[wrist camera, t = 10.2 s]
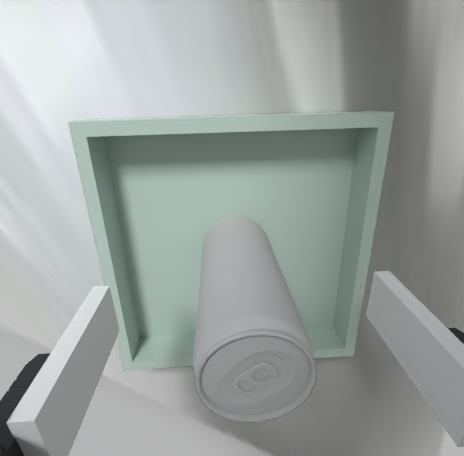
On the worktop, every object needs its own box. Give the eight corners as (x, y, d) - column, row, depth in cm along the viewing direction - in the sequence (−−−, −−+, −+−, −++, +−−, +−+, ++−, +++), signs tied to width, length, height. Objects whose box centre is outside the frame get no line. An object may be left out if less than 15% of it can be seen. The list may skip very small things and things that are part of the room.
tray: (92, 119, 19) (68, 121, 16) (366, 110, 20) (394, 111, 17) (134, 338, 26) (123, 370, 23) (337, 326, 27) (353, 356, 24)
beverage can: (279, 246, 23) (344, 382, 11) (231, 283, 24) (247, 441, 12) (238, 200, 21) (268, 306, 10) (188, 241, 22) (163, 380, 11)
